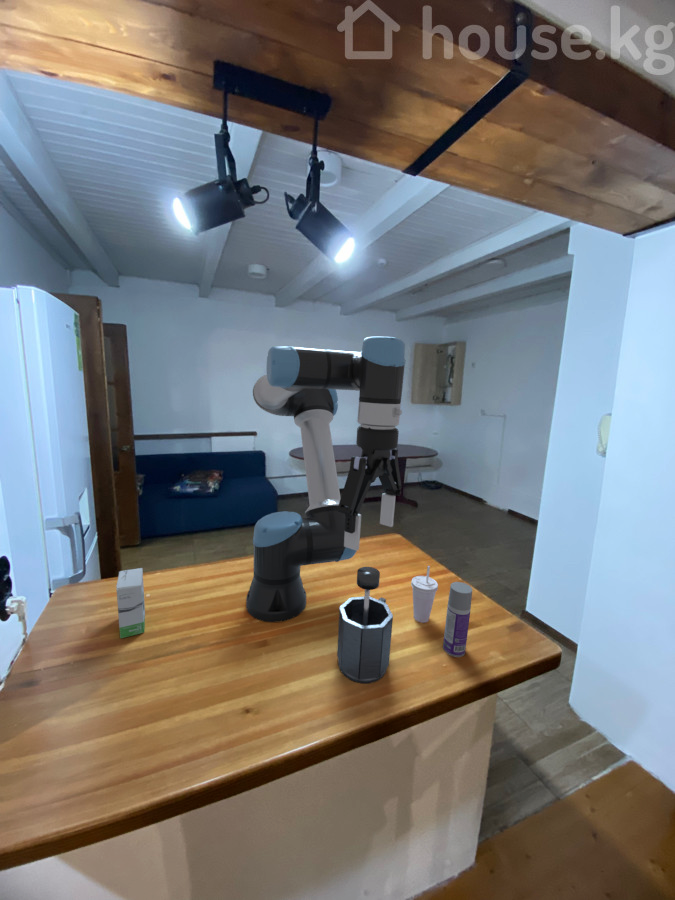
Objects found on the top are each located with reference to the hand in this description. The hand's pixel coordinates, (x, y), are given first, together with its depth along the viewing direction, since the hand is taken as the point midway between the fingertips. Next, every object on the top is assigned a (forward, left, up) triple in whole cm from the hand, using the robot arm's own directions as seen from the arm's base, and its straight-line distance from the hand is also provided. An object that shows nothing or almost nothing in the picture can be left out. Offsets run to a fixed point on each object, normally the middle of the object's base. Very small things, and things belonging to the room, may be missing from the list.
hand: (370, 535), depth 70 cm
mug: (0, +1, -28) cm, 28 cm away
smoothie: (+4, +22, -28) cm, 36 cm away
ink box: (-48, -22, -28) cm, 60 cm away
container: (+14, +16, -28) cm, 35 cm away
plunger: (0, 0, -25) cm, 25 cm away
